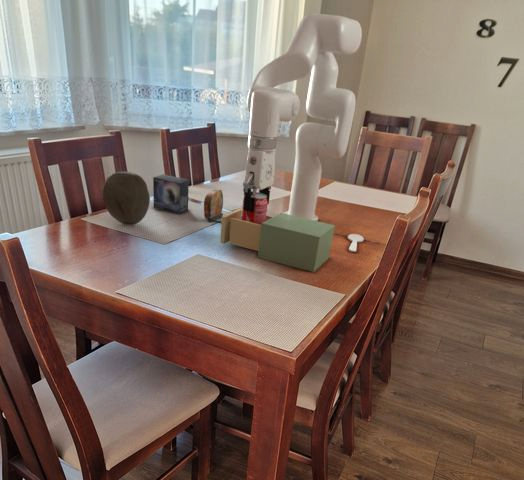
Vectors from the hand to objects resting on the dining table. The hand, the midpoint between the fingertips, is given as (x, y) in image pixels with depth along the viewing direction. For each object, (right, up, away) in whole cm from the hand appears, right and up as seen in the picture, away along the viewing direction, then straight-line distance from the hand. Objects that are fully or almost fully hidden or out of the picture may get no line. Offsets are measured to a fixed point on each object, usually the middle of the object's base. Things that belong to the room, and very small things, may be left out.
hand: (256, 207), depth 136 cm
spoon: (+32, -6, +19) cm, 37 cm away
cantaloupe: (-40, -1, +12) cm, 42 cm away
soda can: (-1, -8, +4) cm, 10 cm away
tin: (-15, +5, +27) cm, 31 cm away
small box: (-30, +8, +29) cm, 43 cm away
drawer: (-4, -8, +6) cm, 11 cm away
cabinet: (+11, -14, +1) cm, 18 cm away
